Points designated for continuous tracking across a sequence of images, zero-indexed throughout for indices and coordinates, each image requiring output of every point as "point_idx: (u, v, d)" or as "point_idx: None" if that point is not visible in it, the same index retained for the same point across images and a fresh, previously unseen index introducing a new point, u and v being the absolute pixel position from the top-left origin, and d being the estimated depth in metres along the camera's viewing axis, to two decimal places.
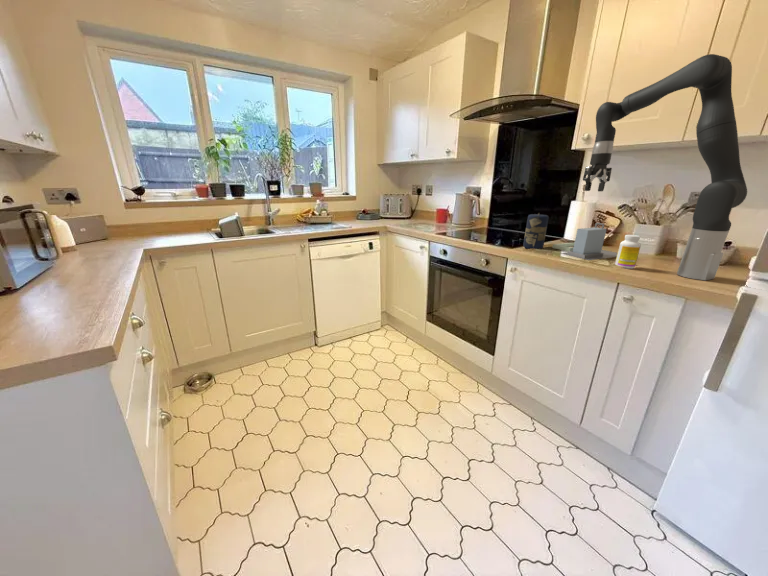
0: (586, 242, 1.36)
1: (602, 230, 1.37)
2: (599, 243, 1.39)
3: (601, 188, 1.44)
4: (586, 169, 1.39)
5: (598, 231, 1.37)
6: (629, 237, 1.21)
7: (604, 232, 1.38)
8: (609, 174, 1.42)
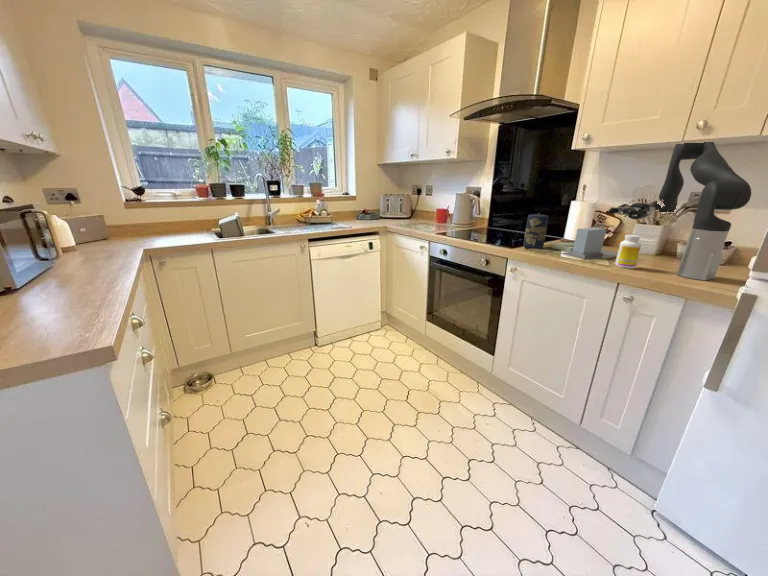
0: (586, 242, 1.36)
1: (602, 230, 1.37)
2: (599, 243, 1.39)
3: None
4: None
5: (598, 231, 1.37)
6: (629, 237, 1.21)
7: (604, 232, 1.38)
8: (645, 210, 1.39)
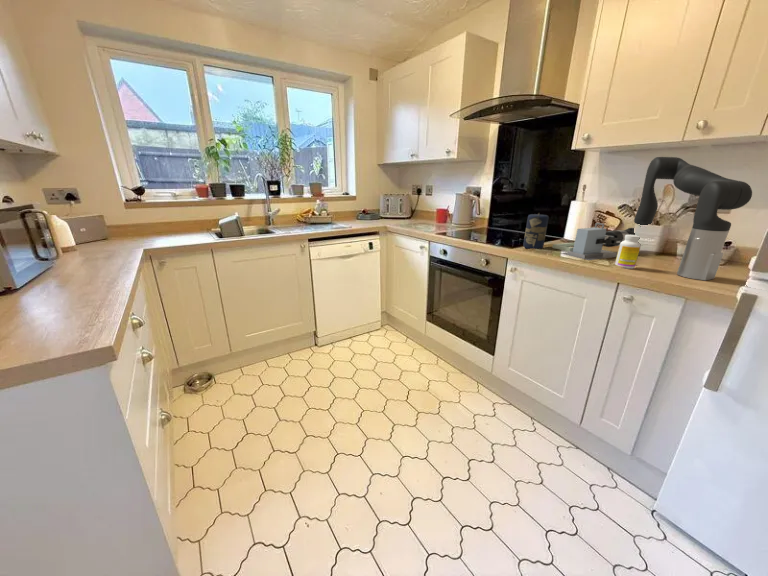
0: (586, 242, 1.36)
1: (602, 230, 1.37)
2: None
3: None
4: None
5: (598, 231, 1.37)
6: (629, 237, 1.21)
7: (604, 232, 1.38)
8: (614, 239, 1.38)
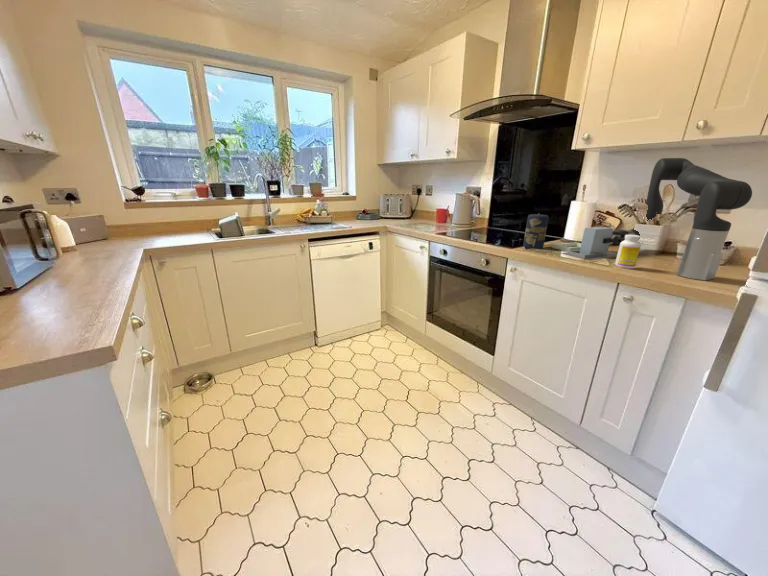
0: (593, 241, 1.38)
1: (609, 229, 1.39)
2: None
3: None
4: None
5: (605, 230, 1.38)
6: (629, 237, 1.21)
7: (611, 231, 1.40)
8: None
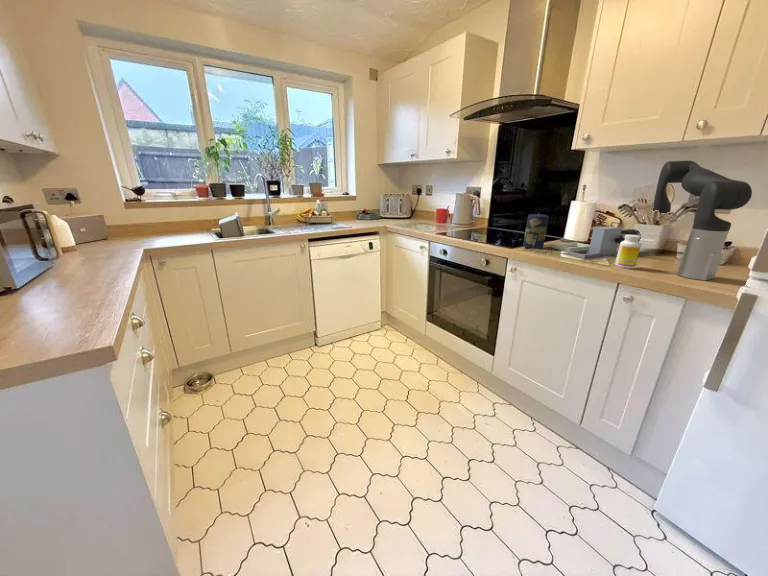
0: (602, 240, 1.40)
1: (618, 229, 1.41)
2: None
3: None
4: None
5: (614, 230, 1.41)
6: (629, 237, 1.21)
7: (620, 231, 1.42)
8: None
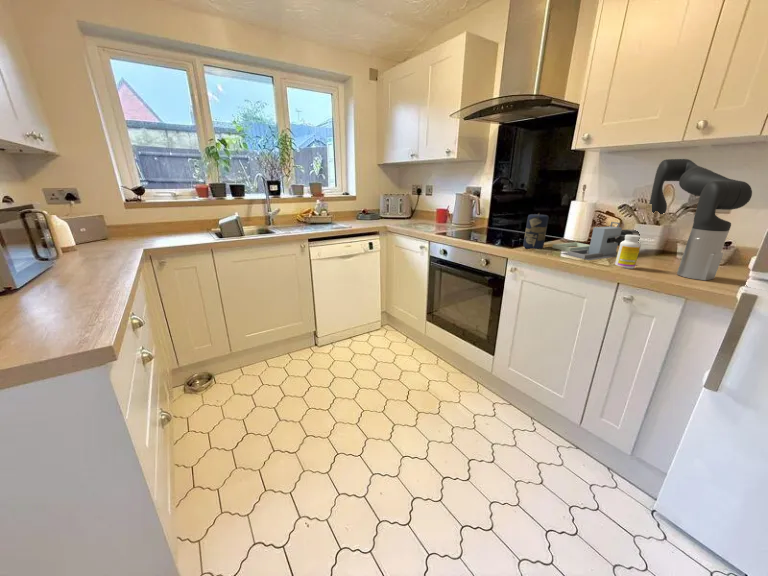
0: (602, 240, 1.40)
1: (618, 229, 1.41)
2: None
3: None
4: None
5: (614, 230, 1.41)
6: (629, 237, 1.21)
7: (620, 231, 1.42)
8: None
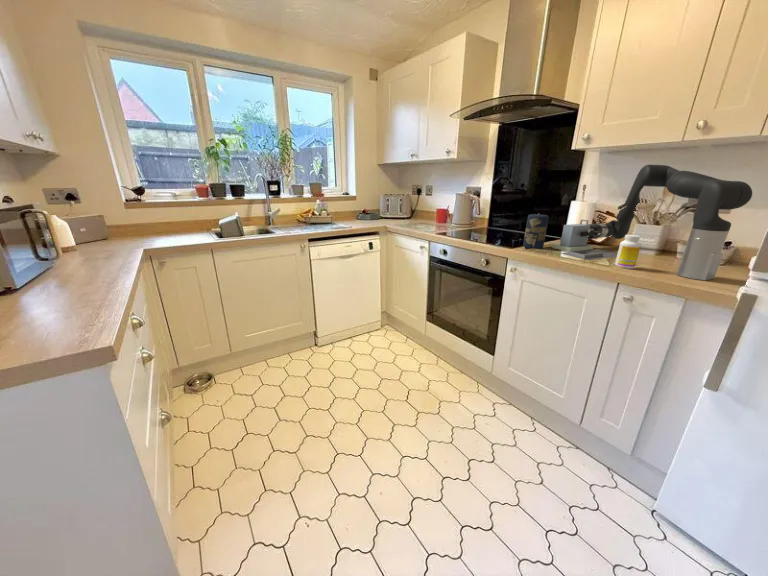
0: (571, 237, 1.50)
1: (586, 226, 1.52)
2: (584, 238, 1.54)
3: None
4: None
5: (582, 227, 1.51)
6: (629, 237, 1.21)
7: (588, 228, 1.53)
8: (596, 231, 1.50)
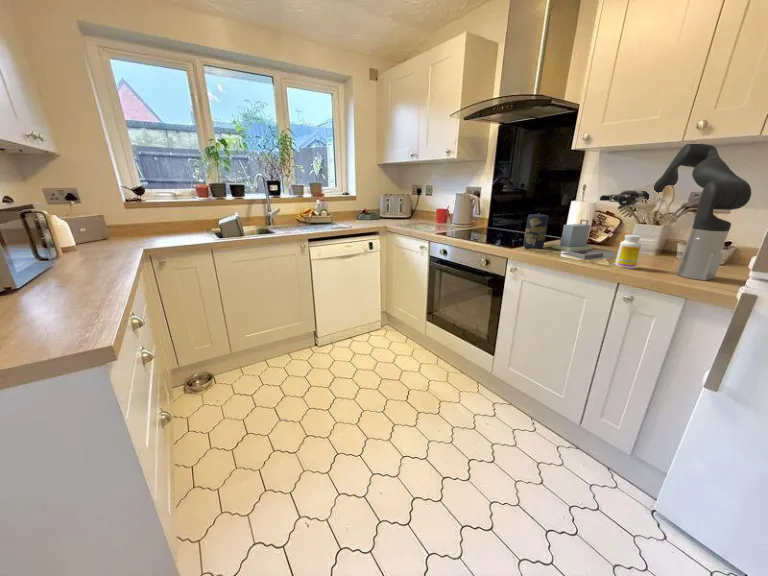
0: (571, 237, 1.50)
1: (586, 226, 1.52)
2: (584, 238, 1.54)
3: None
4: None
5: (582, 227, 1.51)
6: (629, 237, 1.21)
7: (588, 228, 1.53)
8: (634, 196, 1.47)
